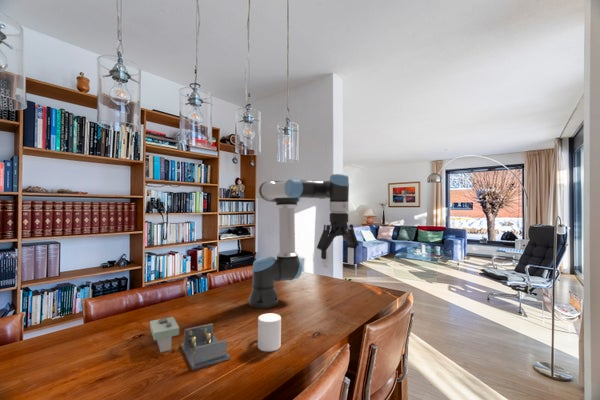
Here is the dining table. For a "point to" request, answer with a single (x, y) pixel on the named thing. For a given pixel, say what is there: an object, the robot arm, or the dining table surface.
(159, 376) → the dining table surface
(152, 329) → the board
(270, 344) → the mug
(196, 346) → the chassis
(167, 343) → the stand
